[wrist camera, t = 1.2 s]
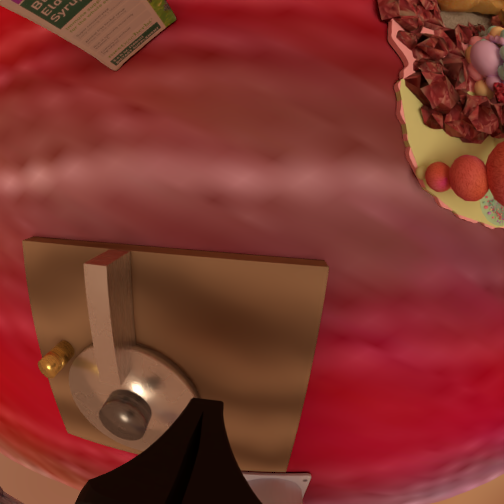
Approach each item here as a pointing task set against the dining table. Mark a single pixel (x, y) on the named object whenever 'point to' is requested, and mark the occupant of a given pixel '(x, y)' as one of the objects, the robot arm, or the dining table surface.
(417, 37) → the candy landscape model
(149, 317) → the base board
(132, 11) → the syrup box
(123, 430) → the lever handle
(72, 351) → the gold metal knob
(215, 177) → the dining table surface
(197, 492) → the robot arm
